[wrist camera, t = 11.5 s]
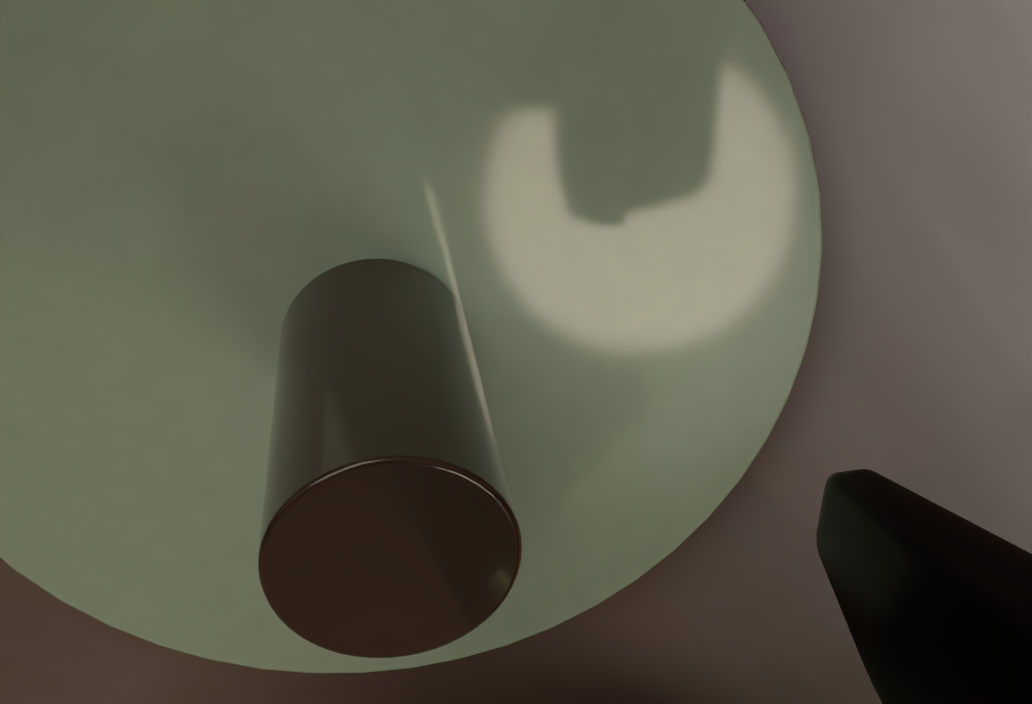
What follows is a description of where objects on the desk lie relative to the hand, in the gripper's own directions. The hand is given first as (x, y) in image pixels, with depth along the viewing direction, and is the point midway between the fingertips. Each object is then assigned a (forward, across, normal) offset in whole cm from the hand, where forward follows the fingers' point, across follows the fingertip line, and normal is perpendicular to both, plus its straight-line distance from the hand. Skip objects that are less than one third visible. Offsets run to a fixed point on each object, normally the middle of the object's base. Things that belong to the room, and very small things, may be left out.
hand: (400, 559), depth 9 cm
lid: (+5, 0, 0) cm, 5 cm away
